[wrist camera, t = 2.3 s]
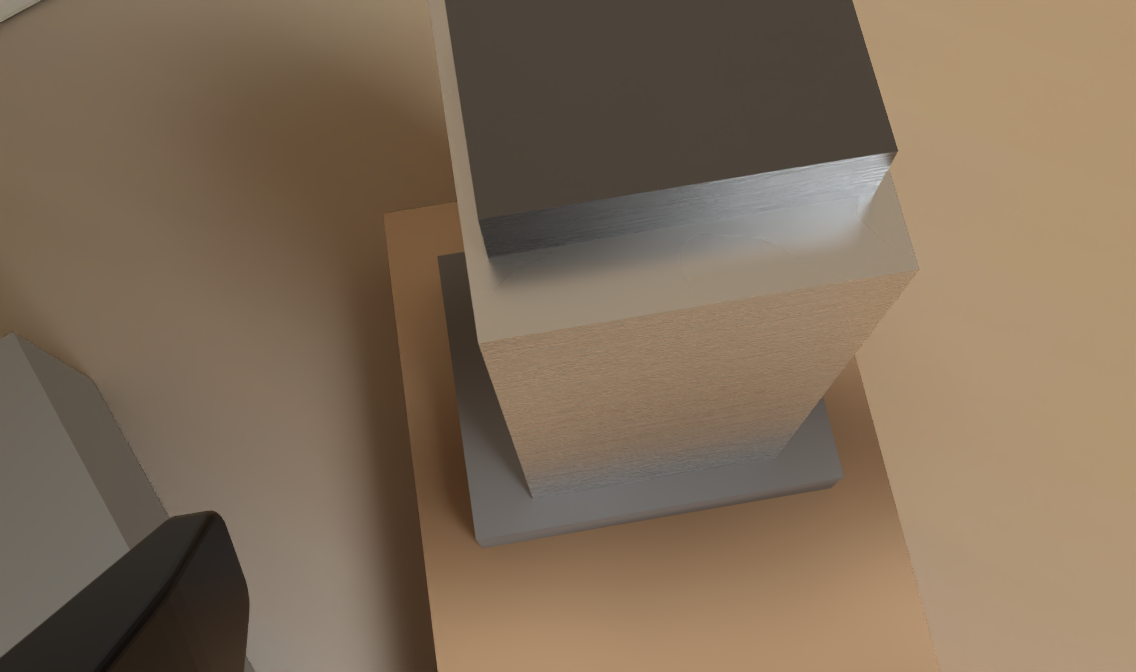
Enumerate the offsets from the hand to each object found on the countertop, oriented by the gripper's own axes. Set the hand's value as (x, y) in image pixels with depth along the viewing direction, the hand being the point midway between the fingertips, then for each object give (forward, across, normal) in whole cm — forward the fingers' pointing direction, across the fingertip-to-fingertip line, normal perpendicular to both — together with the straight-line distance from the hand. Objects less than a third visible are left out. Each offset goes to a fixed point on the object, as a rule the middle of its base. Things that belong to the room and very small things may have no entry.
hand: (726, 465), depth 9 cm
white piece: (+8, 0, +3) cm, 8 cm away
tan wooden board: (+8, 0, +6) cm, 11 cm away
